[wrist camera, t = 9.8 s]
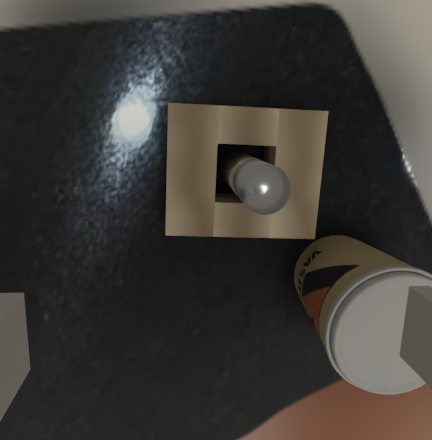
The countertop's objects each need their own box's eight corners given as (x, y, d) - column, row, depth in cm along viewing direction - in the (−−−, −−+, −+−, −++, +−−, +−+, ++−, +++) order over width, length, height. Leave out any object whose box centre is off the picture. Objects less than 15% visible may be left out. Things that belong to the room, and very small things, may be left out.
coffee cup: (291, 222, 37) (342, 267, 25) (388, 229, 38) (480, 275, 26) (278, 315, 39) (319, 397, 27) (371, 320, 40) (448, 401, 28)
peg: (219, 185, 36) (239, 214, 24) (221, 151, 35) (242, 163, 23) (253, 186, 36) (288, 215, 24) (255, 152, 35) (293, 165, 24)
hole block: (167, 221, 36) (165, 235, 32) (169, 105, 34) (168, 102, 29) (299, 225, 37) (314, 239, 33) (310, 112, 35) (328, 111, 31)
